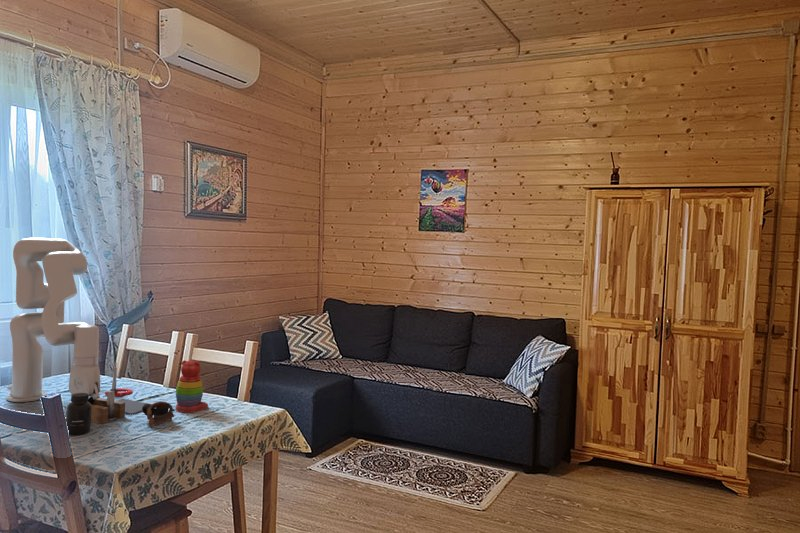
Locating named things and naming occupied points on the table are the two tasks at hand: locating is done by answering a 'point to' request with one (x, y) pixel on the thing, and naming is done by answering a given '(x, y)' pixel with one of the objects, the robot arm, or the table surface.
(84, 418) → the supplement bottle
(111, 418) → the post
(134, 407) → the mat
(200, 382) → the stacking bear
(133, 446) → the table surface
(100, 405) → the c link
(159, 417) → the pottery mug
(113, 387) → the tow hook
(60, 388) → the table surface
